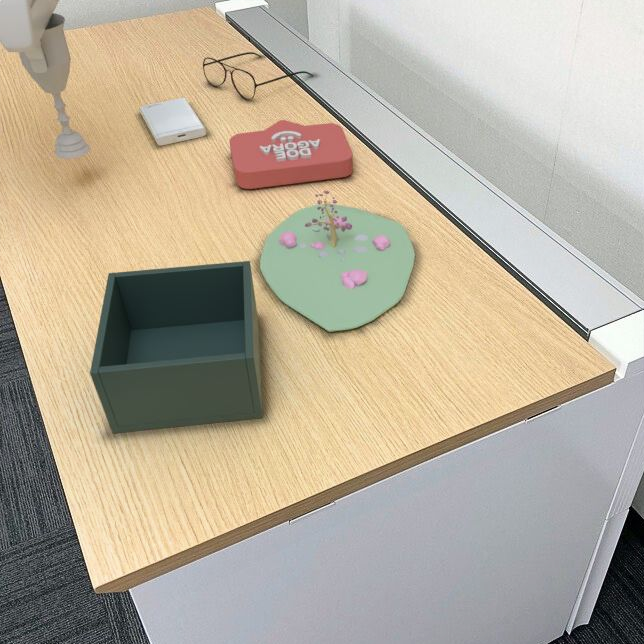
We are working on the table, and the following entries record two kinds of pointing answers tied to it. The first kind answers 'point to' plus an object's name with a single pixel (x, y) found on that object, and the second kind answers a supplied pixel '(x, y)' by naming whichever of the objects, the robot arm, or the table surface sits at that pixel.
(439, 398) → the table surface
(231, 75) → the glasses
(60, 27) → the chalice
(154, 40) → the table surface
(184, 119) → the hard drive
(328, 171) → the plaque
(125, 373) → the tub
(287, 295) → the plant
